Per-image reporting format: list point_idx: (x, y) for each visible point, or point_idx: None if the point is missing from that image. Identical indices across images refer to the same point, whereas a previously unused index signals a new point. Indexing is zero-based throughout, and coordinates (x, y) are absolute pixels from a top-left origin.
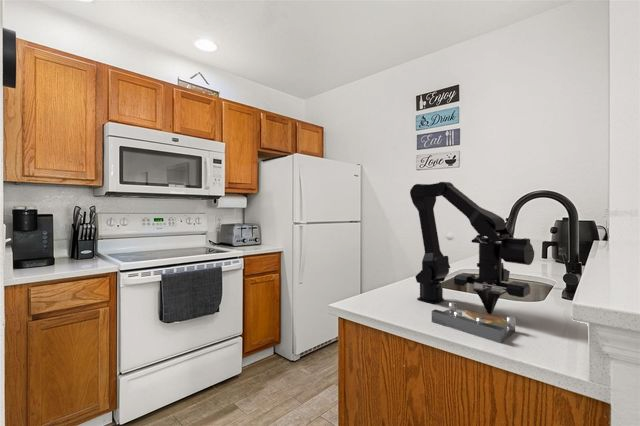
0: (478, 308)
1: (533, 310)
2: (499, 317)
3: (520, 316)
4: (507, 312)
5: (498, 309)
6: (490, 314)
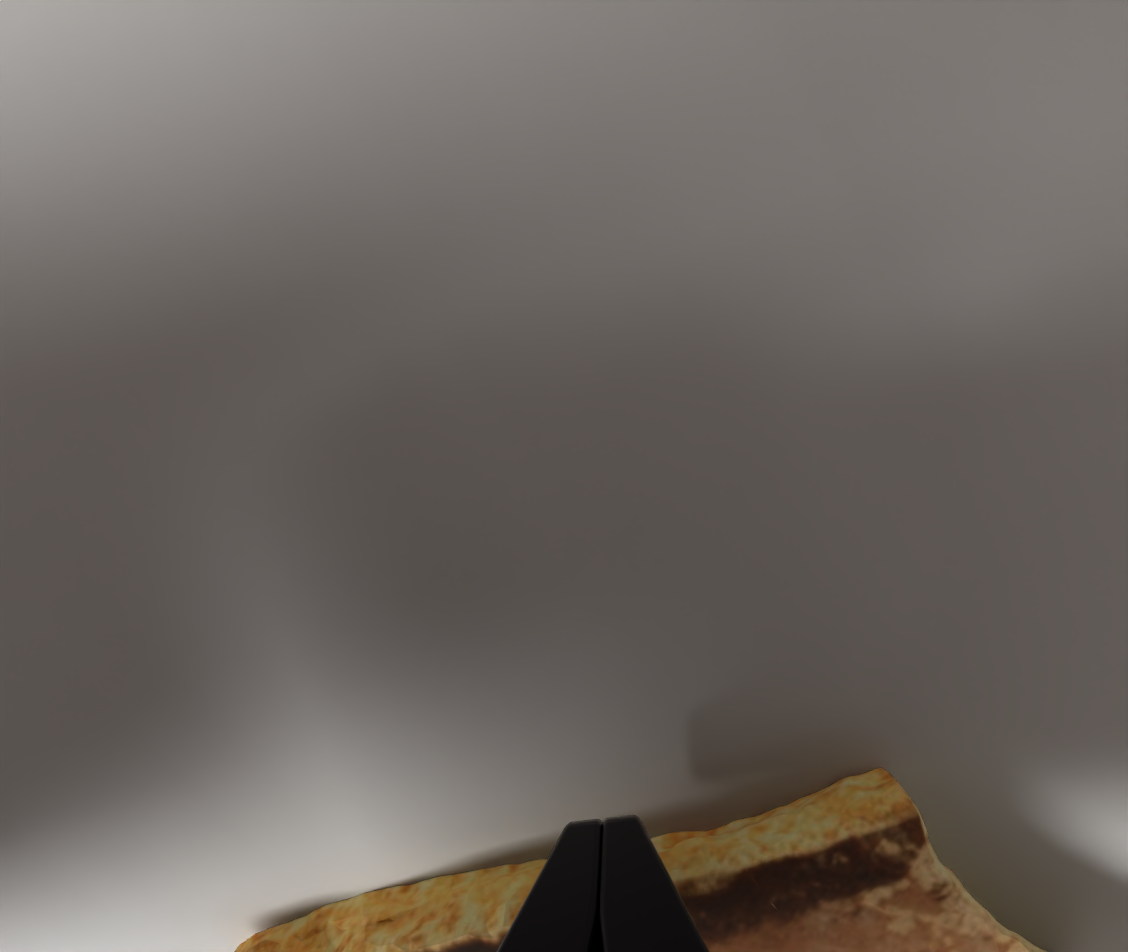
0: (47, 460)
1: None
2: (905, 931)
3: (1076, 62)
4: (645, 51)
5: (323, 18)
6: None
